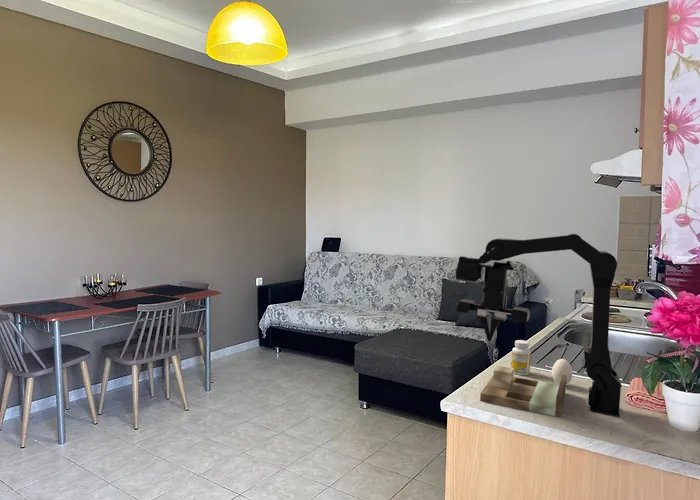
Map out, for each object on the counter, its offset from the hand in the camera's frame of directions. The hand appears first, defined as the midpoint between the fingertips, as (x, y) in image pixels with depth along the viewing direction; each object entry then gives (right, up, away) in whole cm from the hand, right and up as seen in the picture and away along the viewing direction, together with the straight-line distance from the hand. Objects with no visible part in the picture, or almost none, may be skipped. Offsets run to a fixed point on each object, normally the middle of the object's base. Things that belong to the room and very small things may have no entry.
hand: (489, 340), depth 130 cm
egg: (+22, -14, +6) cm, 27 cm away
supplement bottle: (+14, -13, +16) cm, 25 cm away
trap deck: (+8, -14, -3) cm, 17 cm away
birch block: (+3, -12, -1) cm, 12 cm away
